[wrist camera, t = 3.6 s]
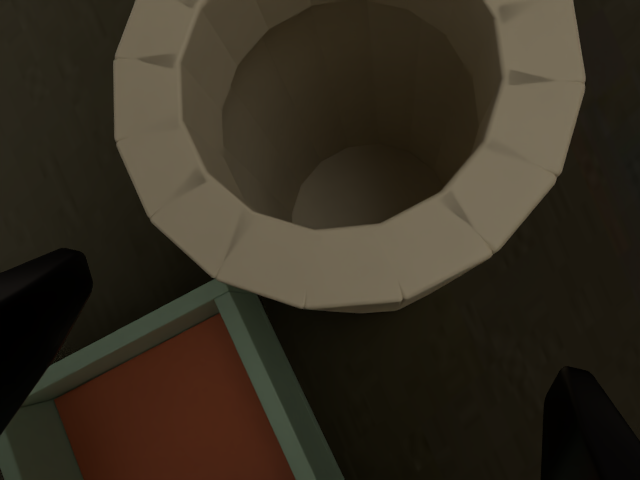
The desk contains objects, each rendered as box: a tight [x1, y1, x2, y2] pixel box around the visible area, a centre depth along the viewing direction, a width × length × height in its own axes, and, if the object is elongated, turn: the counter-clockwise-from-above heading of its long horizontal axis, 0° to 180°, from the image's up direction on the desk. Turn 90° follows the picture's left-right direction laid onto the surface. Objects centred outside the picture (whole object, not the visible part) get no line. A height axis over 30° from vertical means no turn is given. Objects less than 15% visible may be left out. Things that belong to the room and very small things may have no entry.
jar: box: [113, 0, 586, 313], centre depth 14 cm, size 7×7×13 cm
